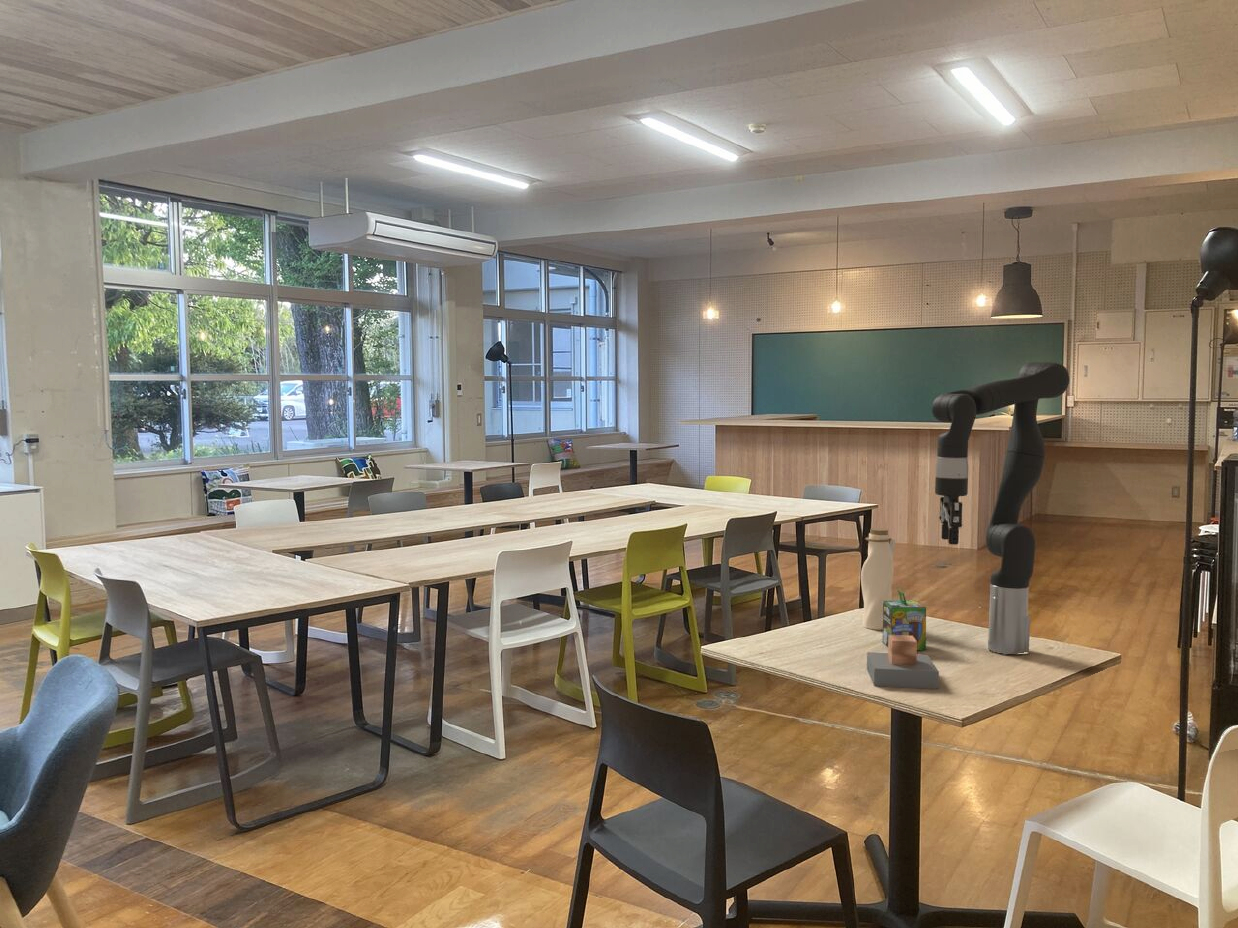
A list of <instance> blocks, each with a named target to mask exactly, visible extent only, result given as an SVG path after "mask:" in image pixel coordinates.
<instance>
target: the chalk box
mask: <svg viewBox="0 0 1238 928" xmlns="http://www.w3.org/2000/svg"><path fill="white" fill-rule="evenodd" d="M897 591H898V595H899V600H897V599H896V600H892V601H884V602H883V630H882V643H883V644H884V645H885V646H886V647H887V648H888V635H906V636H913V637H914V638H915V640H916V641H917V651H927V607H926V606H925V605H923V604H921V603H920V602H919V601H917V600H906V597H905V593H904V592H903V591H902V590H900V589H898V590H897Z"/></svg>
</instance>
